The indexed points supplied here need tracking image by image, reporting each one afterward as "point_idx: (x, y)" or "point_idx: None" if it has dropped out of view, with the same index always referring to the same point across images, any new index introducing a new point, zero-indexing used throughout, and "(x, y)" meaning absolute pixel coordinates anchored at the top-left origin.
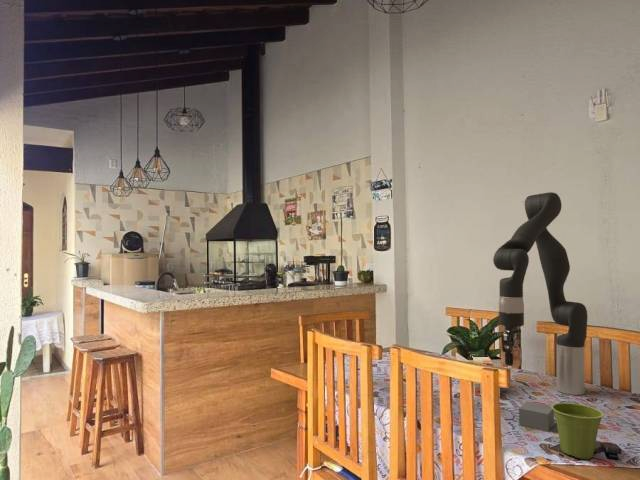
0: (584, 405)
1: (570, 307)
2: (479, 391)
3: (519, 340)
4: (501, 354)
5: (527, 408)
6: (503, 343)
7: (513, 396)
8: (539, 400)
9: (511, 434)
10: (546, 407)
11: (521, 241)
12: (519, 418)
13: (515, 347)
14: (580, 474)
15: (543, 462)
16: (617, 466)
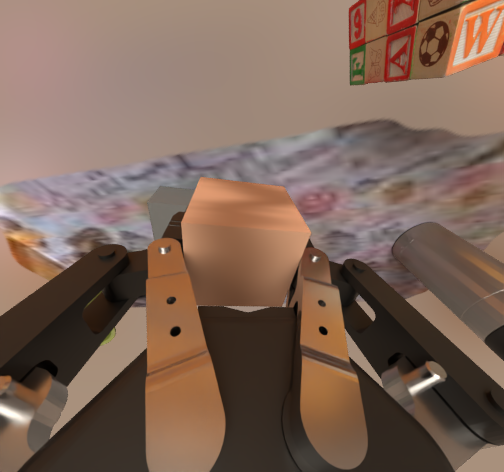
0: (113, 331)
1: None
2: (358, 24)
3: (351, 333)
4: (191, 204)
5: (161, 217)
6: (16, 322)
7: (366, 145)
8: (347, 202)
9: (91, 180)
10: None
11: None
12: (155, 192)
13: (295, 285)
14: (39, 275)
15: (21, 240)
16: None
